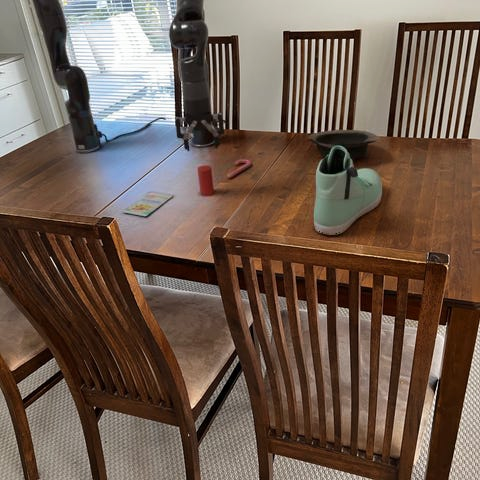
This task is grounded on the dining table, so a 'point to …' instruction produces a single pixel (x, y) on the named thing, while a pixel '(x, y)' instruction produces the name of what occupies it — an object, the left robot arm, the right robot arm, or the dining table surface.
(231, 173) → the candy cane
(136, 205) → the baking ingredient package
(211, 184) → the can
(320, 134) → the stone bowl
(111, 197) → the dining table surface
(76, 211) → the dining table surface
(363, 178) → the sneaker
